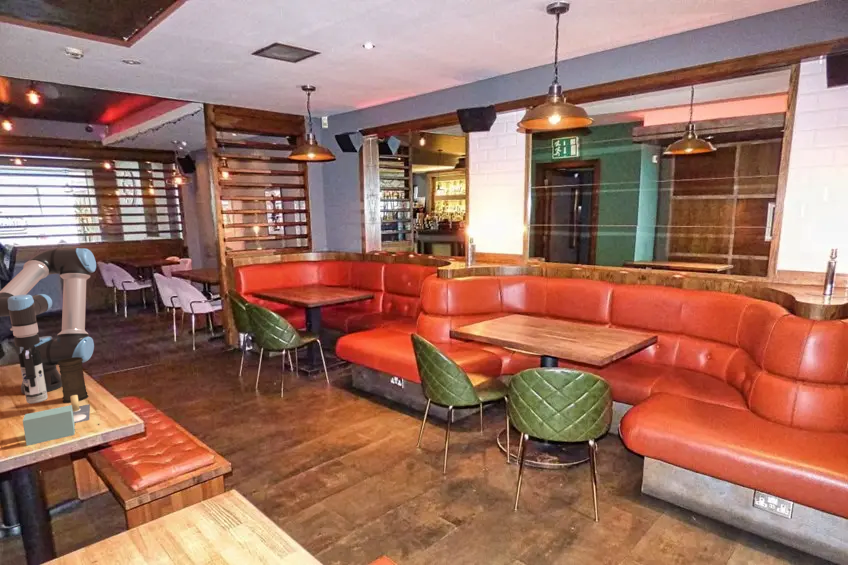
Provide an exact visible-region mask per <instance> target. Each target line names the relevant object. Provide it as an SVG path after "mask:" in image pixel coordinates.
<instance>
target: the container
mask: <svg viewBox="0 0 848 565" xmlns="http://www.w3.org/2000/svg"><path fill="white" fill-rule="evenodd" d="M82 361H83V359H82V358H81V357H73V358H67V359H63V360H60V361H59V362H58V365H57V366H58V368H59V374H60V375H61V381H62V386H61V387H62V395H63V396H62V403H64V404H71V399H70V396H72V395H78V401H79V402H82V401H84V400H86V399H88V398H89V395H88V394H89V392H88V391H87V386H86V383H85V381H86V380H85V375H84V367H83V363H82Z"/></svg>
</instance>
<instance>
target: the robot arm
mask: <svg viewBox="0 0 848 565" xmlns="http://www.w3.org/2000/svg"><path fill="white" fill-rule="evenodd" d="M22 268H23V269H22V270H20V271H19V273H17V274H16V275H15V276H14V277H13V278H12V279H11V280H10V281H9V282H8V283H7V284H6V285H5V286H4V287H3V288H2V289H1V290H0V318H1V317H9V319H10V324H11V327H10V328H9V330H10V331H11V332H12V334H13V336H14V337H13V340H14V341H13V342H14V345H15V347H16V348H19V354H20V353H22V355H23V360H24V364H25V371H26V378H25V380H28V385H29V391H30V395H34V394H39V388H38V382H37V377H36V374H35V366H34V360H35V357H34V359H32V353H35V351H36V350H39V351H40V355H41V360H42V366H43V372H44V378H45V384H46V390H47V393H48V392H52V391H54V390H57V389H60V388H61V387H62V381H61V374H60V371H59V370H58V369H57V366H59V365H58V362H59V361H60V360H63V359H67V358H73V357H81V358H82V359H83V361H82V364H83V363H86V362H87V361H89V360H90V359H91V357H92V355H93V353H94V349H95V343H94V339H93V337H91V336H89V333H88V332H87V331H86V329H85V328H86V308H87V307H86V306H87V305H86V304H87V302H86V301H87V280H88V279H90V278H91V274H92V273H94V272H95V271H96V270H97V262H96V258H95V256H94V253H93V252H92V250H90V249H88V248H87V247H86V248H84V247H83V248H79V247H76V248H53V249H47V250H43V251H41V252H39V253H38V254H36V255H34V256H32V257H31V258H30V259H28V260H27V261H26V262H25V263H24V264H23V267H22ZM56 274H57V275H59V277H60V278H61V279H62V280H63V289H62V290H63V291H62V292H63V293H62V311H61V312H62V316H61V317H62V318H61V331H60V332H59V333H57V337H56V338H55V339H53V337H52V336H51V335H46V336H40V335H39V327H38V321H37V316H38V315H41V314H44V313H46V312H48V311H49V310H50V309H51V308H52V306H53V300H52V298H51V297H50V295H48V294H44V293H38V294H34V295H31V294H28V293H29V292H30V291H31V290H32V289H33V288H34V287H35V286H36V285H37V284H38V283H39V281H41V280H42V279H45V278H47V277H48V276H50V275H56ZM20 392H21V394H23V395H25V390H24V385H23V380H22V382H21V385H20Z"/></svg>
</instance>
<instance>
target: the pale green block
mask: <svg viewBox="0 0 848 565" xmlns="http://www.w3.org/2000/svg"><path fill="white" fill-rule="evenodd" d="M75 424H76V423H74V417H73V410H72V405H71V404H70V405H64V406H61V407H60V406H59V407H55V408H49V409H45V410H41V411H35V412H30V413H25V414H24V416H23V419H22V426H23V431H24V438H25V442H26V447H27V446H31V445H36V444H42V443H45V442H50V441H53V440H58V439H62V438H63V439H64V438H67V437H70V436H71V437H72V436H75V432H76V431H75V430H76V428H75Z"/></svg>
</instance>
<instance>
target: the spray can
mask: <svg viewBox="0 0 848 565" xmlns="http://www.w3.org/2000/svg"><path fill="white" fill-rule="evenodd" d="M34 357H35V360H34V366H35V374H36V377H37V382H38V388H39V394H34V395H30V391H29V385H28V380H25V378H26V371H25V364H24V360H23V355H22V353H20V352H19V353H18V360H19V367H20V371H21V373H20V374H21V379H22V381H23V385H24V390H25V394H24V395H25V401H26V403H27V404H30V405H32V404H38V403H43V402H45V401H47V399H48V392H47V390H46V384H45V378H44V372H43V366H42V360H41V355H40V351H39V350H36V351H35V353H32V359H34Z"/></svg>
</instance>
